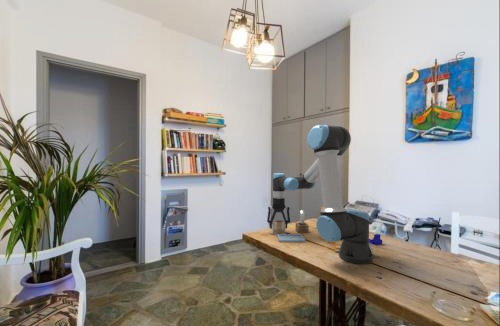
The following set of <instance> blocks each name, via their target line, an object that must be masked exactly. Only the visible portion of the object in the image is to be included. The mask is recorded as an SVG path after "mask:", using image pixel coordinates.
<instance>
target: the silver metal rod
mask: <svg viewBox="0 0 500 326" xmlns="http://www.w3.org/2000/svg"><path fill="white" fill-rule="evenodd" d="M305 213H306V211H305V209H300V210H299V223H300V225H304V223H305V218H306V217H305V215H306V214H305Z"/></svg>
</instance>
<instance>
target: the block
mask: <svg viewBox="0 0 500 326" xmlns="http://www.w3.org/2000/svg"><path fill="white" fill-rule="evenodd" d="M272 223H273V235H274V236H277V234H284V223H285V221H284V219H283V220H282V219H281V220H280V219H279V220H278V219H273V222H272Z"/></svg>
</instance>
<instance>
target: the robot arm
mask: <svg viewBox="0 0 500 326" xmlns="http://www.w3.org/2000/svg"><path fill="white" fill-rule="evenodd" d="M351 141H352V136H351V133H350V132H349V130H348V129H346V127H343V126H338V125H328V124H317V125H314V126H313V127H312V128H311V129H310V130H309V132H308V135H307V145H308V147H309V148H311V149H312V150H313V154H314V156H315V157H317V159H316V160H315V161H314V162H313V163H312V165H311V166H310V167H309V168H308V169H307V170H306V171H305V173H304V174H303V175H302V176H293V177H290V176H289V177H287V176H285V175H286V174H285V173H283V172H281V173H280V172H274V173H273V175H272V204H271V206H270V205H269V206H267V209H268V213H267V219H266V222H267V223H268V224H269V227H270V229H271V235H274V233H273V220H275V216H276V214H277V213H280V214H282V215H281V216H282V218H283V222H284V234H287V233H286V232H287V231H286V229H288V224H289V223H291V216H290V209H291V208H290V206H286V203H285V200H286V199H285V197H286V196H285V195H286V194H285V193H286V191H291V192H293V191H297V190H311V189H313V188H315V186H316V181H317V179H318V178H319V180H320V181H319V182H320V189H321V190H320V191H321V202H322V206H323V208H322V210H321V211H320V210H319V214H321V216H320V217H319V216H318V217H319V218H317V220H316V221H315V226H316V227H315V228H316V230H317V232H318V234H319V235H320V236H321V238H322V239H323V240H324V241H326V242H332V243H333V242H339V241H341V244H340V247H339V249H338V256H339V258H340V259H342V260H343V261H345V262H349V263H352V264H359V265H366V264H371V263H373V262H374V255H373V251H372V248H371V246H370V243H369V239H370V221H371V220H370V214H369V213H368V212H366V211H364V210H358V209H354V208H345V207H343V200H342V189H341V183H340V175H339V174H340V173H339V166H338V159H337V158H339V157H341V156H343V154H345V152H346V151H347V150H348V149H349V147H350V145H351ZM271 210H273V213H272V211H271ZM284 210H286V215H285V212H284ZM271 213H272V215H271Z"/></svg>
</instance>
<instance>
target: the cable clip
mask: <svg viewBox="0 0 500 326" xmlns="http://www.w3.org/2000/svg"><path fill="white" fill-rule="evenodd" d="M369 244H371V245H375V246H380V245H383V239H381V234H380V233H379V234H378V233H376V234H373V238H372V239H371V238H369Z"/></svg>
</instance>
